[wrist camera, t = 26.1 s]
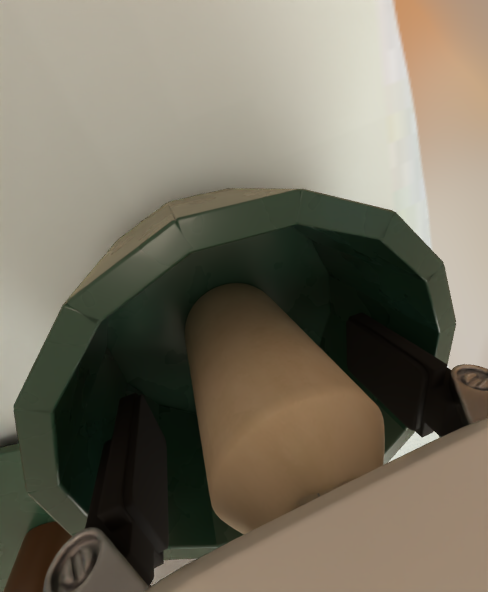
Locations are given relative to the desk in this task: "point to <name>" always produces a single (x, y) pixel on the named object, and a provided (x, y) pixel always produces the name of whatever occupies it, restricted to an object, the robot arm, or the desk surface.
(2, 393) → the desk surface
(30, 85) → the desk surface
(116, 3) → the desk surface
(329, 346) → the tin
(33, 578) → the tin lid
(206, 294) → the candle
